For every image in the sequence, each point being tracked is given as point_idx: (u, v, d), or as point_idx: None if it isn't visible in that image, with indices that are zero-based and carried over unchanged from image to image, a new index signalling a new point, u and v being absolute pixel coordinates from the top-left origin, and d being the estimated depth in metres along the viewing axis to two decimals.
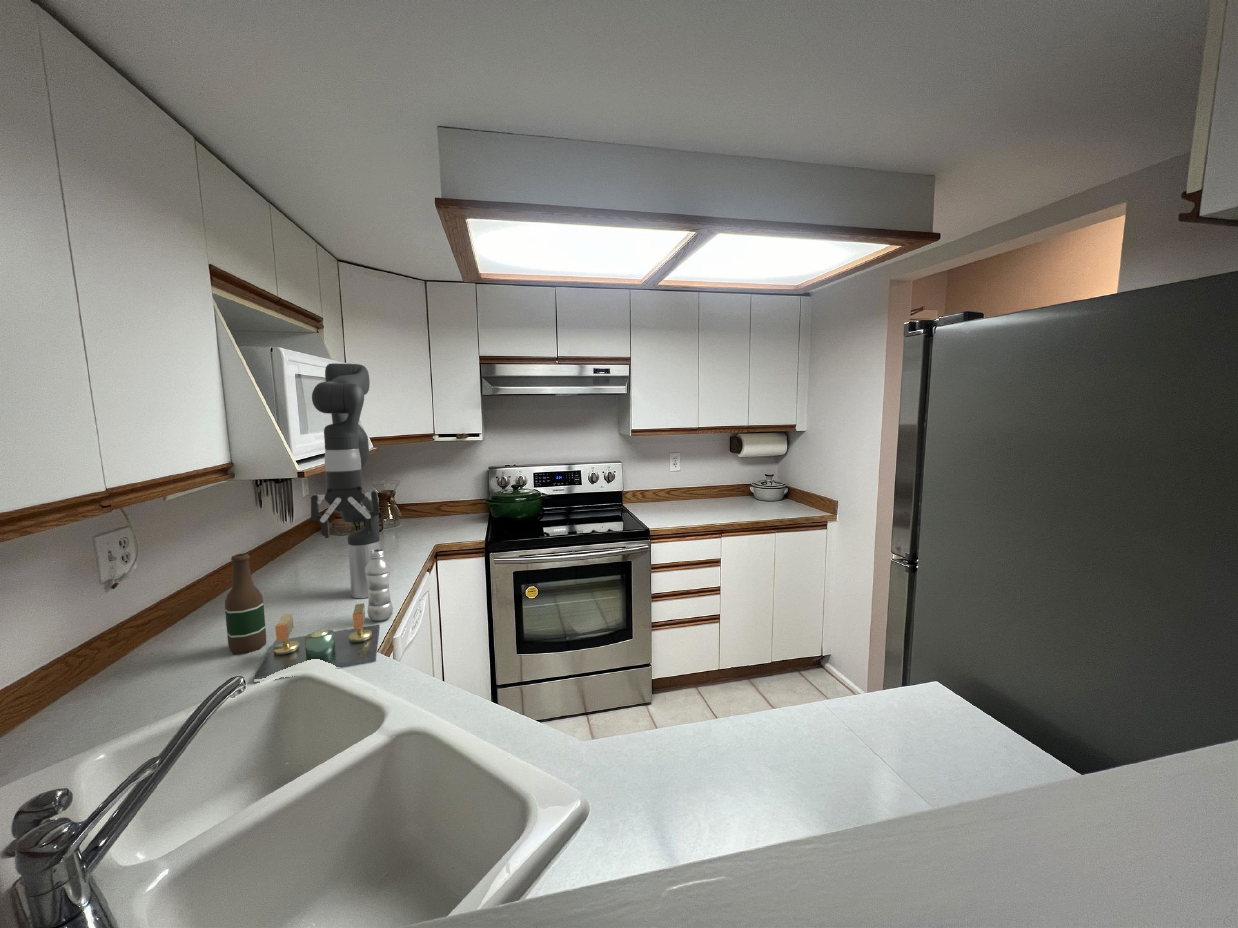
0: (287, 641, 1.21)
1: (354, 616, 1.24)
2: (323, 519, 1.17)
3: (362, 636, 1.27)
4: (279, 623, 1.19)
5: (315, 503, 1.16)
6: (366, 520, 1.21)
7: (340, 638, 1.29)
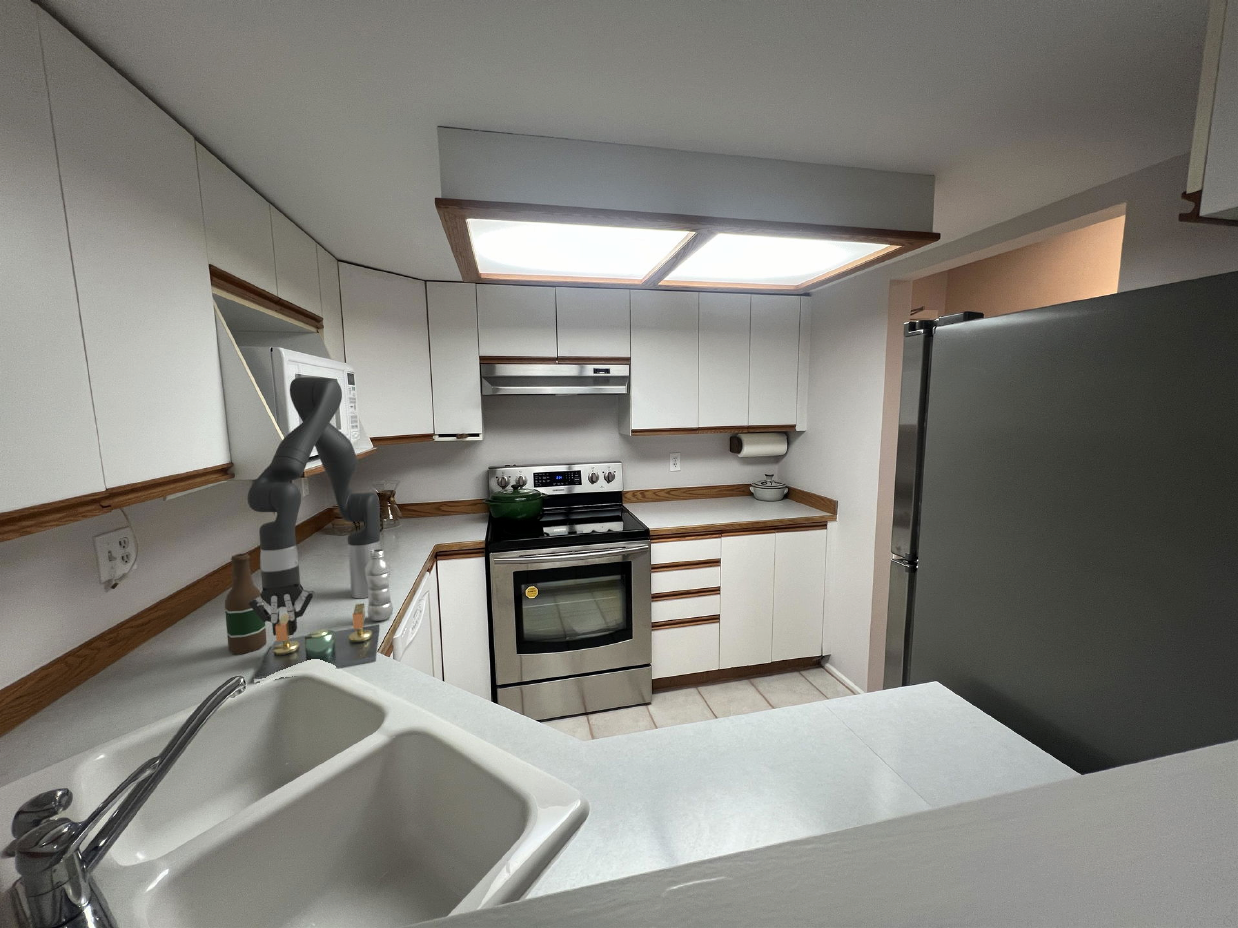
0: (287, 641, 1.21)
1: (354, 616, 1.24)
2: (274, 619, 1.19)
3: (362, 636, 1.27)
4: (279, 623, 1.19)
5: (256, 607, 1.18)
6: (290, 622, 1.21)
7: (340, 638, 1.29)
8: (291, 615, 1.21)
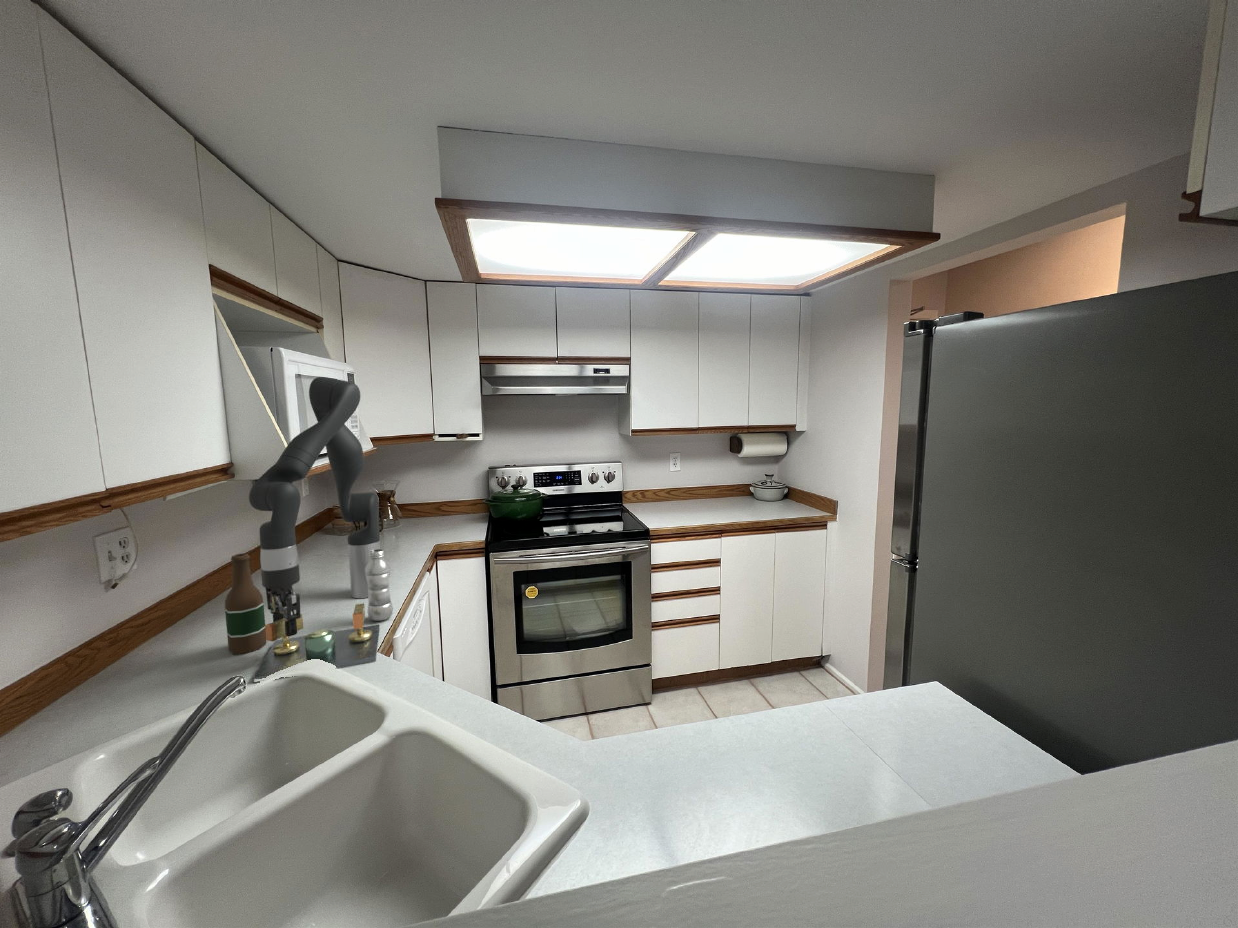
0: (285, 642, 1.21)
1: (354, 616, 1.24)
2: (271, 611, 1.22)
3: (362, 636, 1.27)
4: (273, 622, 1.19)
5: (267, 594, 1.23)
6: (285, 622, 1.18)
7: (340, 638, 1.29)
8: (284, 616, 1.18)
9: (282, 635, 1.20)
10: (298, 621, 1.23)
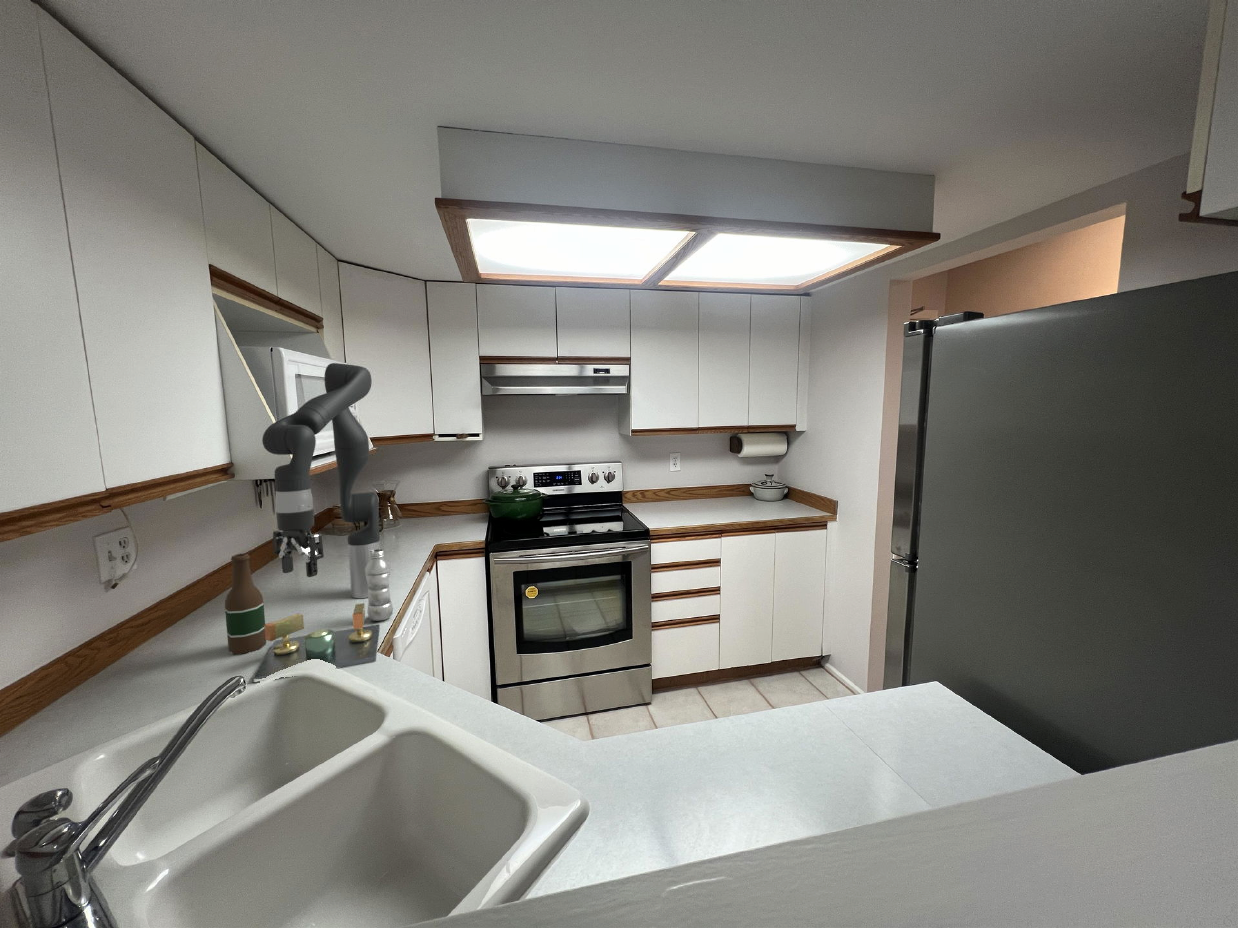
0: (284, 642, 1.21)
1: (354, 616, 1.24)
2: (280, 555, 1.22)
3: (362, 636, 1.27)
4: (272, 622, 1.19)
5: (275, 539, 1.22)
6: (306, 563, 1.19)
7: (340, 638, 1.29)
8: (306, 557, 1.19)
9: (281, 635, 1.20)
10: (298, 621, 1.23)
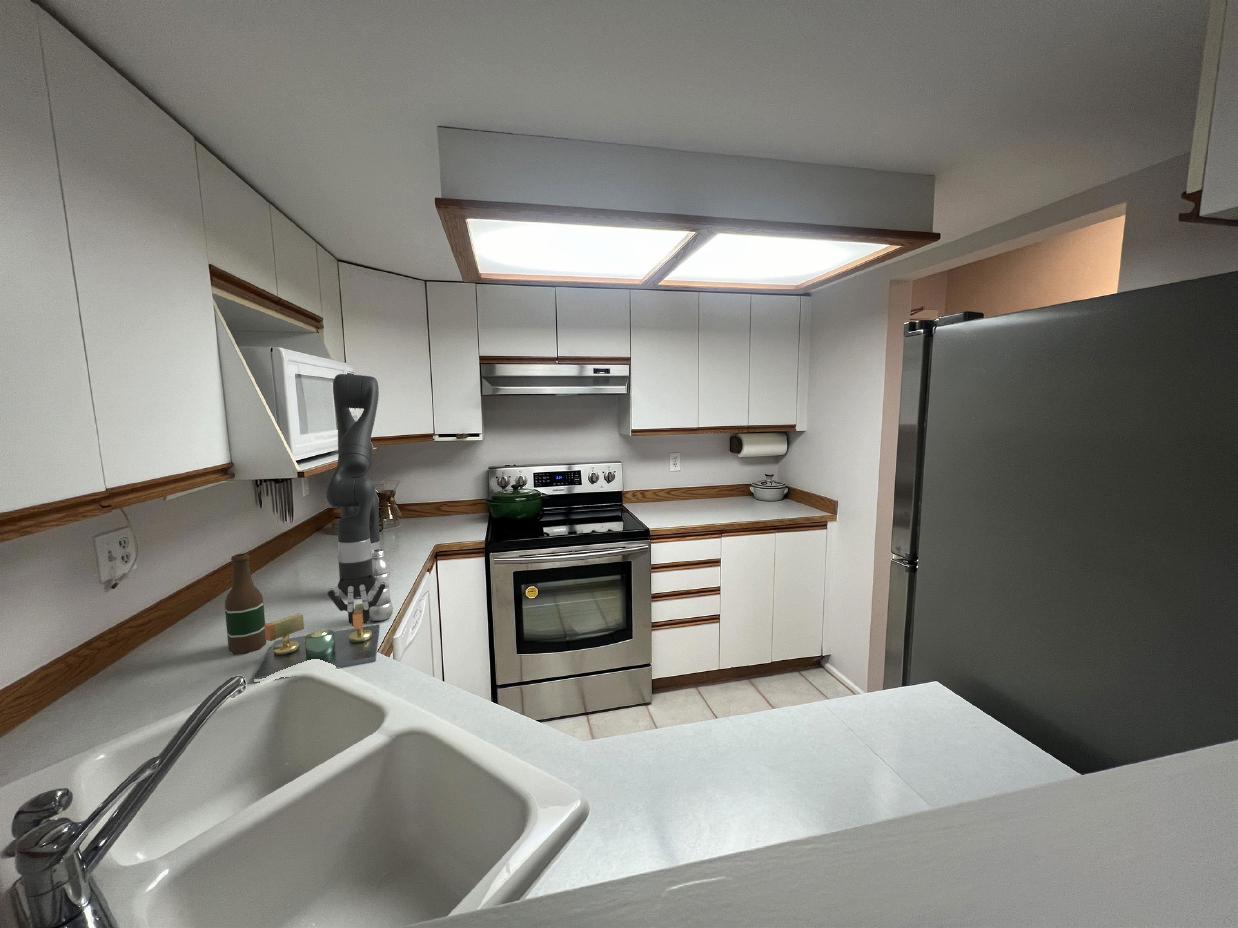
0: (284, 642, 1.21)
1: (354, 616, 1.24)
2: (350, 608, 1.25)
3: (362, 636, 1.27)
4: (272, 622, 1.19)
5: (334, 597, 1.24)
6: (364, 611, 1.27)
7: (340, 638, 1.29)
8: (365, 605, 1.27)
9: (281, 635, 1.20)
10: (298, 621, 1.23)
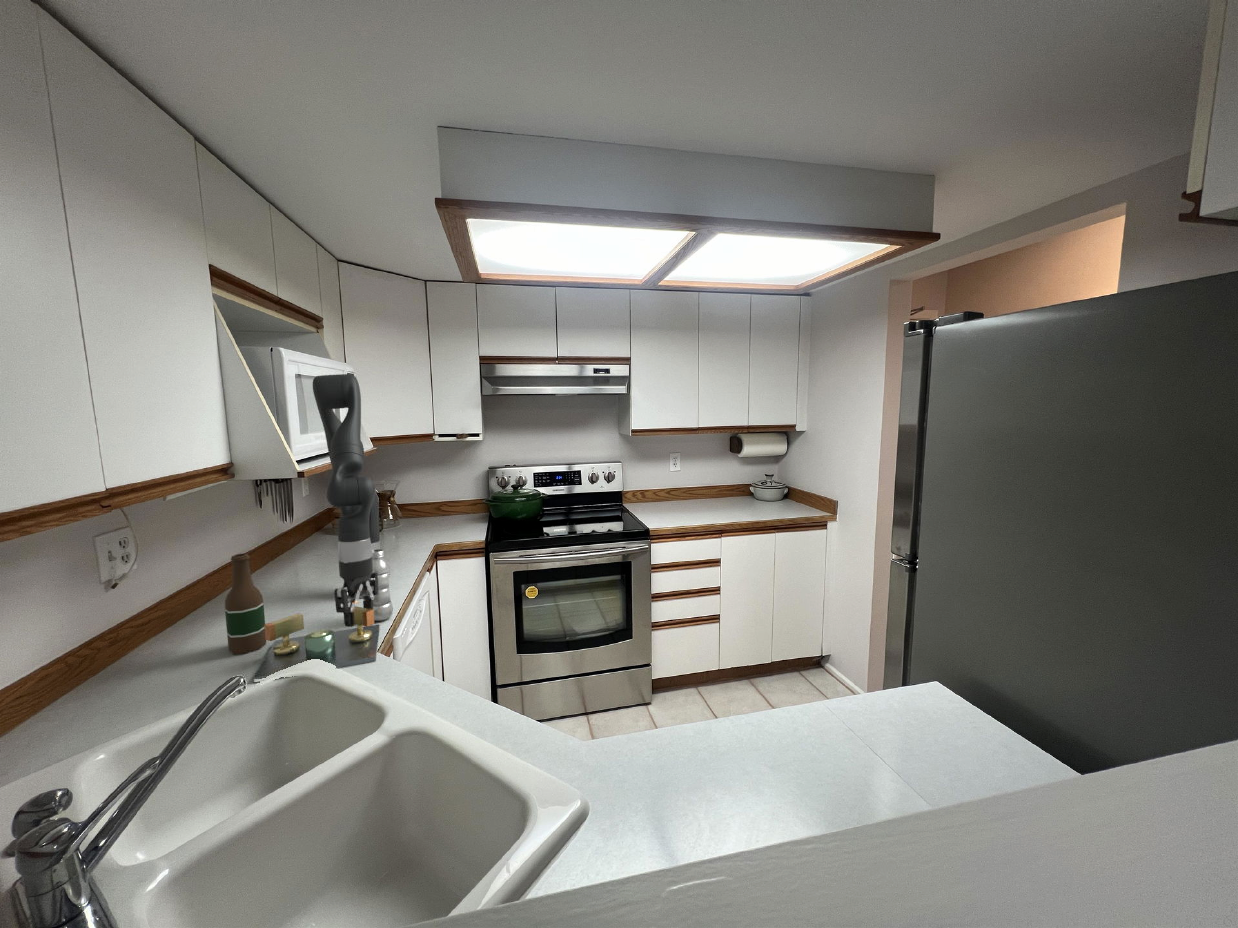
0: (284, 642, 1.21)
1: (367, 613, 1.25)
2: (352, 608, 1.23)
3: (367, 634, 1.28)
4: (272, 622, 1.19)
5: (346, 596, 1.21)
6: (371, 601, 1.31)
7: (340, 638, 1.29)
8: (372, 595, 1.31)
9: (281, 635, 1.20)
10: (298, 621, 1.23)
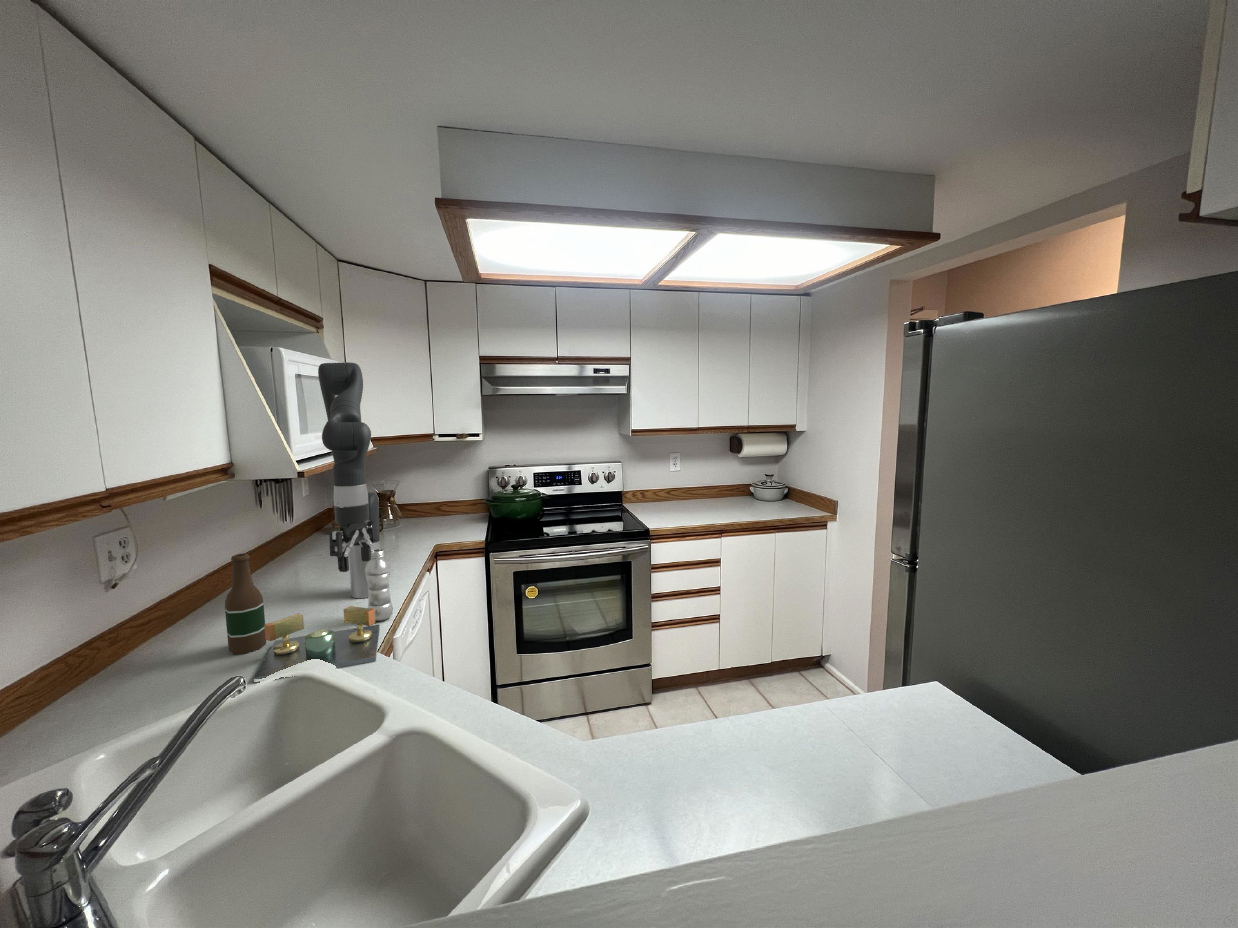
0: (284, 642, 1.21)
1: (369, 612, 1.26)
2: (346, 553, 1.21)
3: (368, 633, 1.28)
4: (272, 622, 1.19)
5: (341, 539, 1.20)
6: (369, 548, 1.30)
7: (340, 638, 1.29)
8: (369, 542, 1.30)
9: (281, 635, 1.20)
10: (298, 621, 1.23)
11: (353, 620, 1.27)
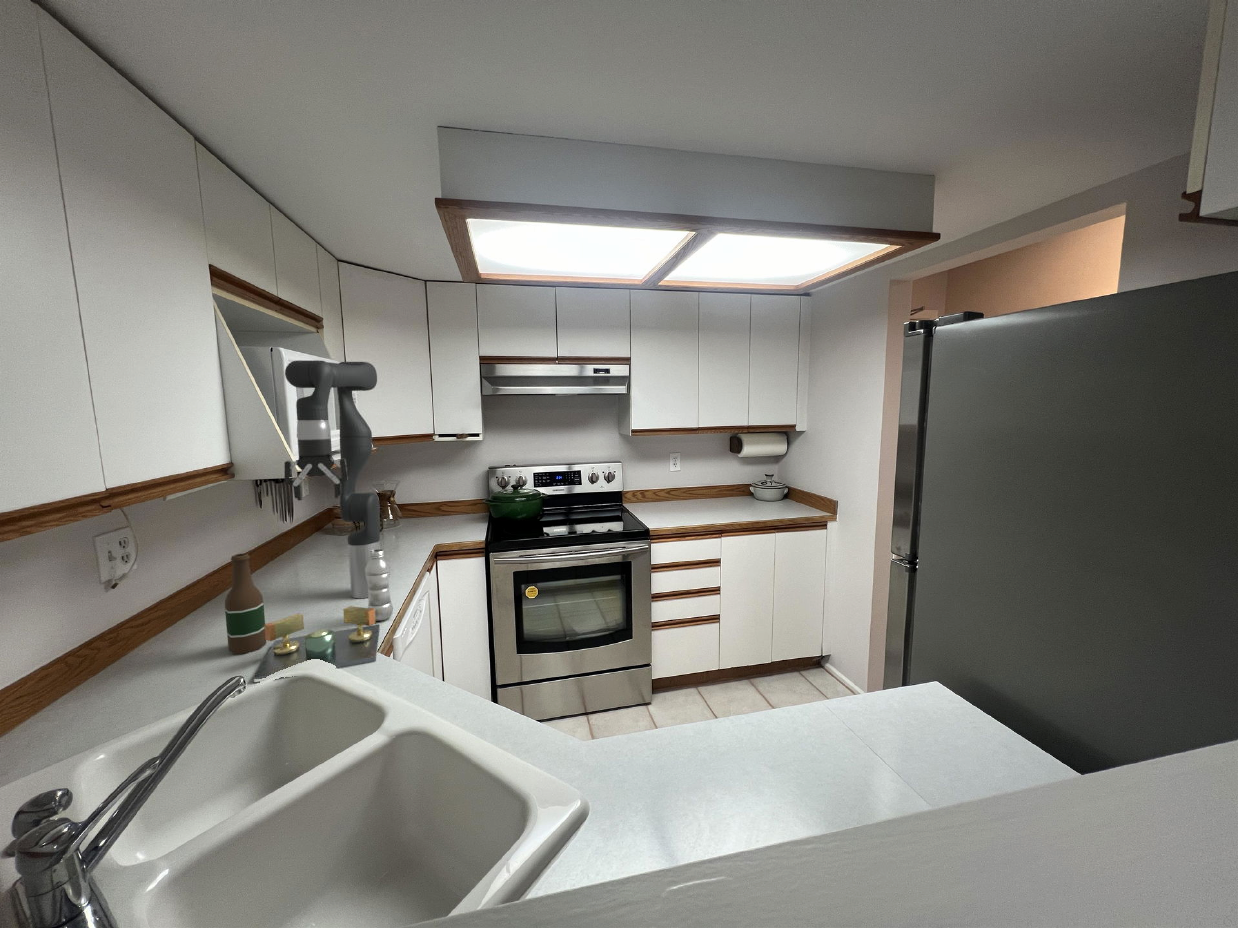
0: (284, 642, 1.21)
1: (369, 612, 1.26)
2: (296, 483, 1.30)
3: (368, 633, 1.28)
4: (272, 622, 1.19)
5: (288, 468, 1.29)
6: (335, 485, 1.33)
7: (340, 638, 1.29)
8: (335, 479, 1.33)
9: (281, 635, 1.20)
10: (298, 621, 1.23)
11: (353, 621, 1.27)
